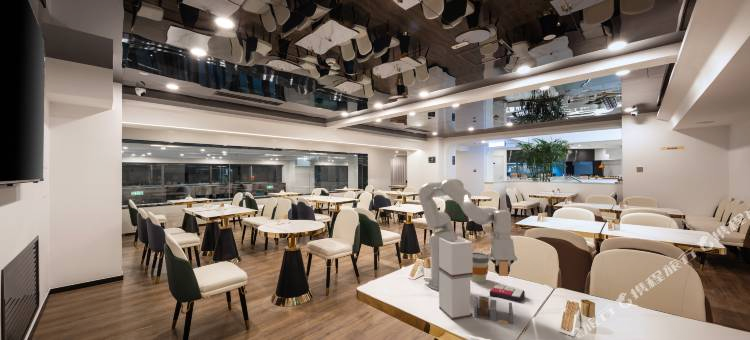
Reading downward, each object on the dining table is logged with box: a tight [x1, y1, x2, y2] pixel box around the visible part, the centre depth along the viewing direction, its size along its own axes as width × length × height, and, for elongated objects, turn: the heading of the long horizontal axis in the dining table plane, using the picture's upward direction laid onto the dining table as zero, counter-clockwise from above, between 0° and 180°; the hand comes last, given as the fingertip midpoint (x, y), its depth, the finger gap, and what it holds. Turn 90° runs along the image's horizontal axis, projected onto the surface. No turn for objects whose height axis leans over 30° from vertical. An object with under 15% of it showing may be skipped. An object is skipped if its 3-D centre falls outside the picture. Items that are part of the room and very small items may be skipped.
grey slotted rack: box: [473, 296, 514, 325], centre depth 135 cm, size 16×10×6 cm, turn 68°
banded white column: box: [438, 235, 474, 321], centre depth 138 cm, size 11×11×35 cm
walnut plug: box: [478, 295, 490, 316], centre depth 137 cm, size 4×4×7 cm
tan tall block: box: [497, 260, 509, 277], centre depth 144 cm, size 4×4×7 cm
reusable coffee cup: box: [470, 252, 490, 284], centre depth 179 cm, size 13×13×15 cm
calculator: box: [489, 284, 526, 303], centre depth 156 cm, size 11×4×15 cm
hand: (502, 272), depth 144 cm, fingers closed on tan tall block, 4 cm apart
